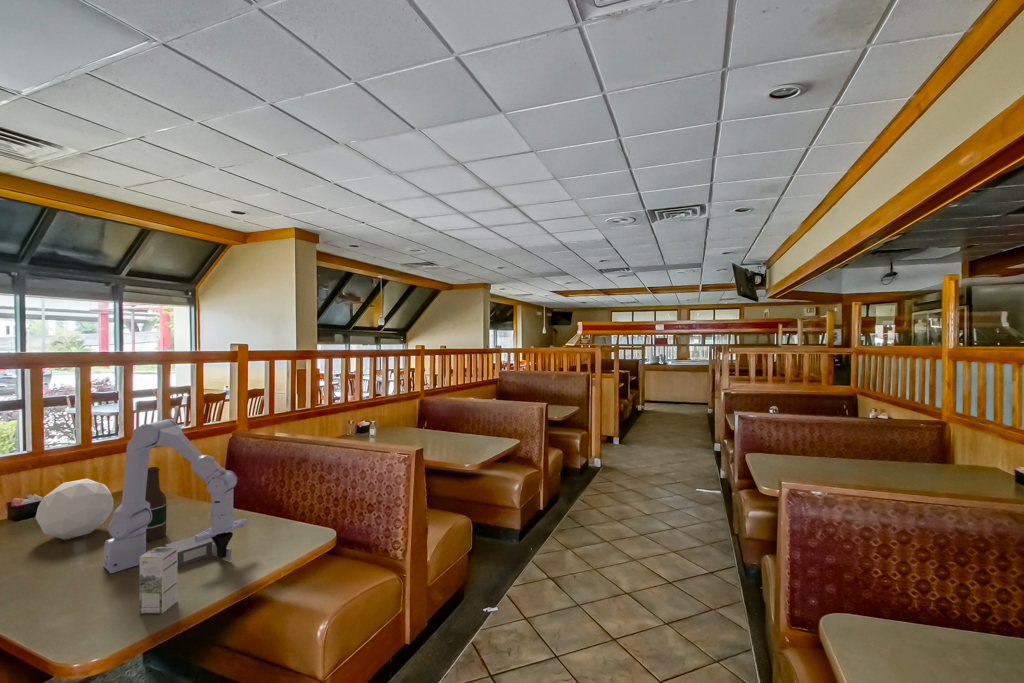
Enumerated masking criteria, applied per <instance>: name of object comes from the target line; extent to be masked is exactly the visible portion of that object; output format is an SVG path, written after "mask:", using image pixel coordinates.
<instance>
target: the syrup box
mask: <svg viewBox="0 0 1024 683" xmlns="http://www.w3.org/2000/svg"><path fill="white" fill-rule="evenodd" d="M177 556H178V551H177V547H165V546H155V547H153V548H150V549H149V550H146V553H145V554H143V555H142V556H140V565H139V615H140V614H142V615H144V614H145V615H146V614H147V615H150V614H151V615H153V614H155V615H156V614H158V615H159V614H163V613H164V612H166V611H167V610H169V609H170V608H171V607H173V606H174V605H175V604H177V602H178V567H177V559H178V557H177Z"/></svg>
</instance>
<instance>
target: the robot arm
mask: <svg viewBox="0 0 1024 683" xmlns="http://www.w3.org/2000/svg"><path fill="white" fill-rule="evenodd" d="M156 446H157V447H170V448H173V450H175V451H176V452H177V453H179V454H180V455H181V456H182V457H184V458H185V459H186V460H187V461H188V462H190V463H191V471H193V473H195V474H196V475H197V476H198V477H199V478H200V479H201V480H203V482H204V483H206V490H207V492H208V494H210V502H211V503H210V508H211V509H210V527H209V528H208V529H206V530H204V531H202V532H200V533H197V534H195V535H194V536H195V542H197V543H200V542H202V541H203V540H206V539H209V538H212V540H213V541H214V543H215V545H216V547H217V556H216V557H217V558H219V559H222V558H224V557H226V548H227V547H228V545H229V543H230V541H231V540H232V538H233V536H234V535H233V530H236V529H239V528H241V527H246V526H247V525H248V524H247V522H248V519H246V518H241V519H237V520H236V519H235V520H234V488H235V487H236V486H237V484H238V477H237V474H236V473H235V471H232V470H228V469H226V468H225V467H222V466H221V465H220V463H218V462H217V461H216V458H215V457H214V456H211V455H209V454H202V452H200V450H198V448H197V447H196V446H195V445H194V444H193V443H192V442H191V441H190V439H188V437H187V436H186V435H185V434H184V433H183V429H182V427H181V426H180V425H178V423H176V421H174V420H173V419H171V418H166V419H165V418H164V419H163V420H158V421H153V422H151V423H144V424H141V425H140V426H137V428H134V429H133V432H132V436H131V438H130V440H129V441H128V442H127V445H126V452H125V464H124V474H123V485H122V486H123V487H122V497H121V498H122V499H121V503H120V504H119V505H118V507H117V508H116V509H115V510H114V511H113V513H112V517H111V520H110V522H109V523H108V526H107V527H108V528H107V530H108V533H109V535H110V536H112V537H111V538H109V539H107V540H105V541H104V546H103V548H104V551H103V554H104V556H103V558H104V559H103V567H104V568H105V570H107V571H108V572H109V573H110V574H114V573H117V572H120V571H124V570H127V569H131V568H133V567H136V566H140V556H142V555H143V554H145V553H146V552H147V542H146V529H147V525H148V524H149V523H150V522H151V520H152V512H151V510H150V503H149V502H147V501H146V500H145V496H146V485H147V474H148V468H149V460H150V451H151V450H152V449H153V448H154V447H156Z"/></svg>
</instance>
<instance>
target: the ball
mask: <svg viewBox="0 0 1024 683" xmlns="http://www.w3.org/2000/svg"><path fill="white" fill-rule="evenodd" d="M113 510H114V498H113V495H112V493H111V491H110V489H109V488H108V486H107V485H106V484H104V483H101V482H98V481H95V480H92V479H90V478H83V479H82V478H81V479H77V480H72V481H71V480H70V481H66V482H62V483H61V484H59V485H58V486H57V487H55V488H54V489H53V490H51V491H50V492H49V493H47V494H46V495H45V496H43V497H42V499H41V501H40V502H39V504H38V506H37V510H36V514H35V520H36V521H37V523H38V525H39V528H40V529H41V531H42V532H43V534H44V535H47V536H50V537H51V536H52V537H54V538H57V539H61V540H64V541H65V540H66V539H67V540H70V539H74V538H78V537H81V536H85V535H89V534H91V533H92V532H94V531H95V530H96V529H97V528H99V527H100V526H102V524H104V522H106V521H107V519H108V518H109V517H110V515H111V513H112V512H113Z"/></svg>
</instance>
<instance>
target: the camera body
mask: <svg viewBox="0 0 1024 683" xmlns="http://www.w3.org/2000/svg"><path fill="white" fill-rule="evenodd" d="M212 543H214V541H213V540H212V538H209V539H206V540H203V541H202V542H200V543H197V542H195V535H194V536H191V537H187V538H184V539H181V540H176V541H172V542H169V543H166V544H164V547H177V551H178V556H177V557H178V559H177V568H179V567H182V566H185V565H188V564H192V563H194V562H197V561H201V560H203V559H207V558H210V557H212Z"/></svg>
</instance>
